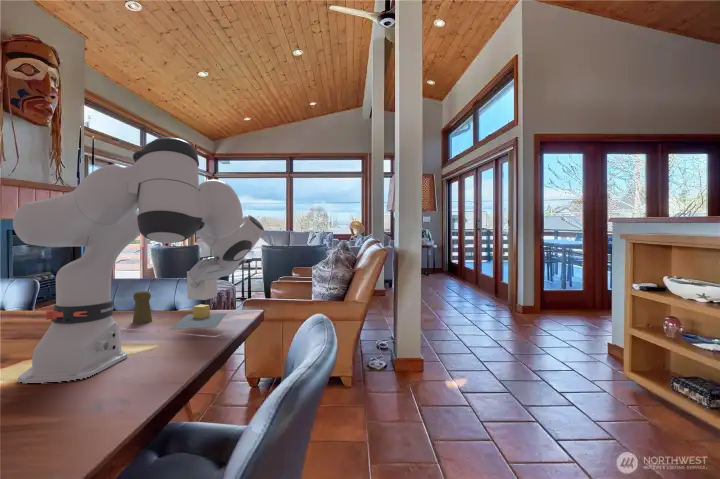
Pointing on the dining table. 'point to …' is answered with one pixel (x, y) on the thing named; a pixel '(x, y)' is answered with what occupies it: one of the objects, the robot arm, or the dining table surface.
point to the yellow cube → (201, 311)
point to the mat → (199, 321)
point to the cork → (142, 308)
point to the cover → (202, 289)
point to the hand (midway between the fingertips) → (201, 284)
